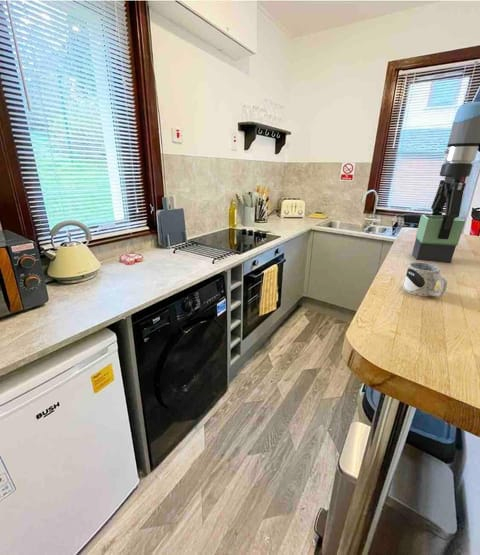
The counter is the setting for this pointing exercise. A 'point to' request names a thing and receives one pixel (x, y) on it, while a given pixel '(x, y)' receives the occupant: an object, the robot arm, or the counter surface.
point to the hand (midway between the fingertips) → (437, 234)
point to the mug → (423, 280)
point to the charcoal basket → (433, 252)
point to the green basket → (431, 228)
